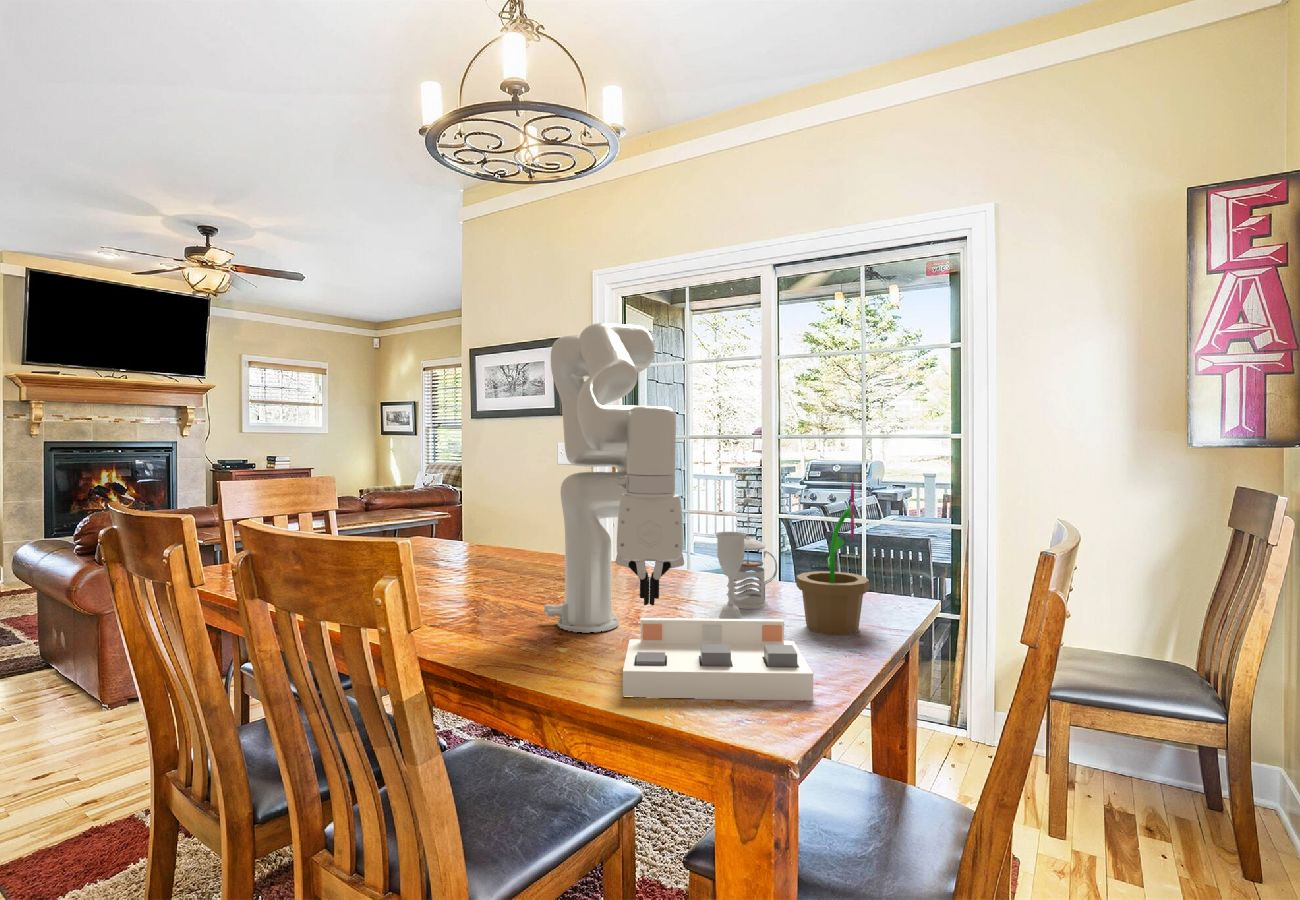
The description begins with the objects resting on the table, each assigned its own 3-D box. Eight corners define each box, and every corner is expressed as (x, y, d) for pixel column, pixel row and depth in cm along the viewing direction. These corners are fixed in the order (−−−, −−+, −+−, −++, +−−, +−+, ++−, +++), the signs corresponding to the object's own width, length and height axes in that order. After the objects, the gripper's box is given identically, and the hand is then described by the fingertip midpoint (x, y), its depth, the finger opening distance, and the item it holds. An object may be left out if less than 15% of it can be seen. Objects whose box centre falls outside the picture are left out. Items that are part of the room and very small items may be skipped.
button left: (635, 680, 102) (635, 661, 102) (637, 670, 106) (637, 652, 106) (664, 681, 102) (664, 661, 102) (665, 671, 106) (665, 652, 106)
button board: (622, 698, 99) (622, 644, 99) (629, 662, 115) (629, 616, 115) (813, 700, 98) (813, 646, 98) (793, 664, 114) (793, 617, 114)
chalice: (712, 612, 149) (712, 531, 149) (742, 612, 149) (742, 531, 149) (718, 621, 142) (718, 536, 141) (749, 620, 142) (750, 536, 142)
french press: (726, 598, 163) (726, 495, 162) (774, 599, 162) (775, 495, 161) (727, 608, 153) (727, 498, 153) (778, 609, 152) (779, 499, 152)
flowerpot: (869, 640, 128) (870, 483, 128) (793, 634, 132) (793, 482, 132) (868, 621, 142) (868, 479, 141) (799, 616, 146) (799, 478, 145)
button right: (768, 673, 101) (768, 653, 101) (764, 663, 106) (764, 644, 106) (797, 673, 101) (797, 653, 101) (792, 663, 106) (792, 644, 105)
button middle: (701, 672, 102) (701, 652, 102) (700, 662, 106) (700, 643, 106) (730, 672, 101) (730, 652, 101) (728, 663, 106) (728, 644, 106)
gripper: (600, 487, 100) (598, 608, 101) (700, 489, 100) (698, 610, 101) (605, 482, 108) (604, 595, 109) (698, 484, 107) (696, 597, 108)
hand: (649, 602), depth 105 cm, fingers closed
